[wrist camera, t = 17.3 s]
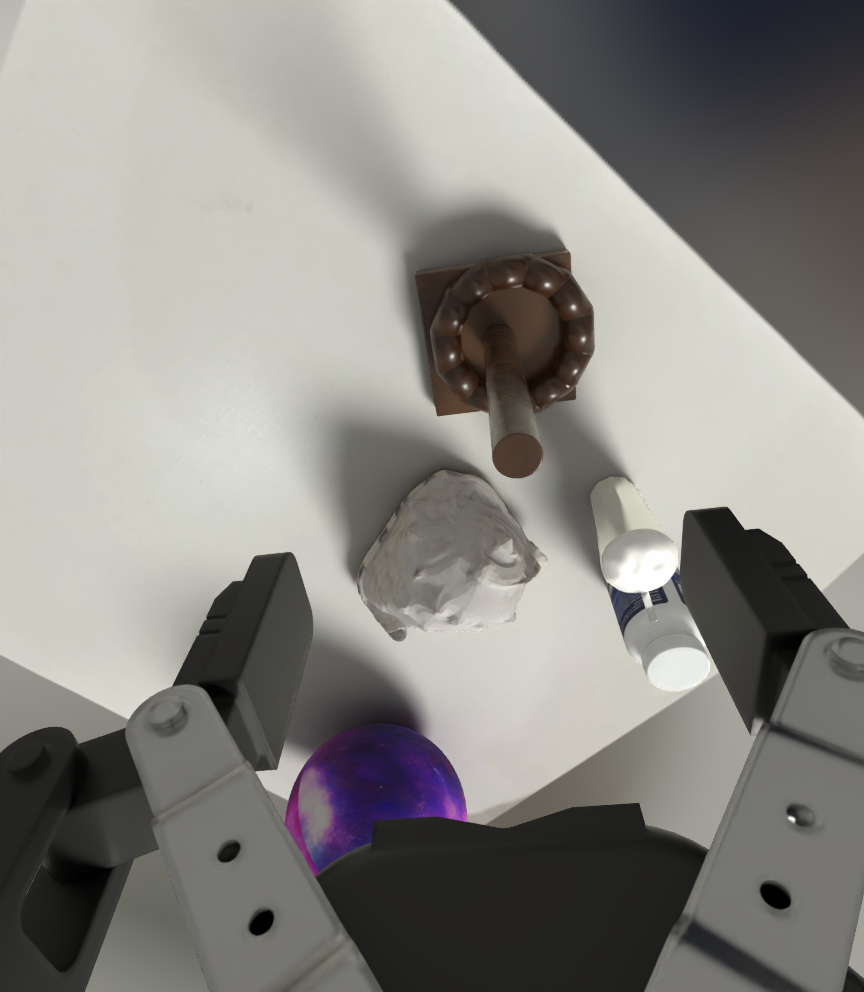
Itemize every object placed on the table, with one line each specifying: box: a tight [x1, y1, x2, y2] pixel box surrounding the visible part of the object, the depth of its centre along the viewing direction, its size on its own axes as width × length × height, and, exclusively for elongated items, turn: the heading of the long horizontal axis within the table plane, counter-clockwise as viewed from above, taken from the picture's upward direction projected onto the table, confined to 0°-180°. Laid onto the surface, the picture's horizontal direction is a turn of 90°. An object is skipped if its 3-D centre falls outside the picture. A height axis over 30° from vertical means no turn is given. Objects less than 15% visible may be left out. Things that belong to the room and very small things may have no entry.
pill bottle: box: [607, 567, 710, 691], centre depth 45 cm, size 5×5×10 cm
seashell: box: [357, 469, 548, 641], centre depth 44 cm, size 12×14×10 cm
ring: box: [430, 253, 595, 414], centre depth 38 cm, size 10×10×2 cm
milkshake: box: [590, 477, 678, 622], centre depth 41 cm, size 4×5×10 cm
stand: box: [415, 249, 576, 478], centre depth 33 cm, size 9×9×17 cm
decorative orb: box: [285, 723, 467, 876], centre depth 53 cm, size 15×15×15 cm
